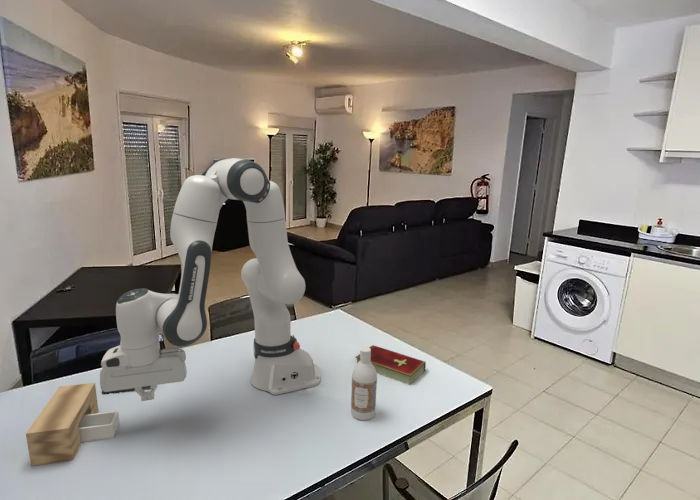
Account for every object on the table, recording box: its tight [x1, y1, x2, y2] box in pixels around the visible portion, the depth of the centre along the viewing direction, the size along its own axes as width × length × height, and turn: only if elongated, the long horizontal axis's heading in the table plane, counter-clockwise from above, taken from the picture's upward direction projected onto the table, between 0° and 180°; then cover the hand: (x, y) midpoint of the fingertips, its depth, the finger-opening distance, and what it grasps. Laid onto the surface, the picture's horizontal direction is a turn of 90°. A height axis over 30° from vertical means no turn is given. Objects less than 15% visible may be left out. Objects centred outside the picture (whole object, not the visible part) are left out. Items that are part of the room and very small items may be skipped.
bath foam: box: [350, 346, 378, 421], centre depth 118 cm, size 7×7×20 cm
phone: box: [101, 386, 152, 395], centre depth 131 cm, size 8×1×15 cm
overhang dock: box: [25, 382, 99, 467], centre depth 106 cm, size 8×20×8 cm, turn 15°
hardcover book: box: [355, 344, 427, 385], centre depth 145 cm, size 12×21×4 cm, turn 56°
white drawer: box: [78, 410, 120, 443], centre depth 108 cm, size 14×6×4 cm, turn 105°
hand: (148, 399), depth 111 cm, fingers closed
